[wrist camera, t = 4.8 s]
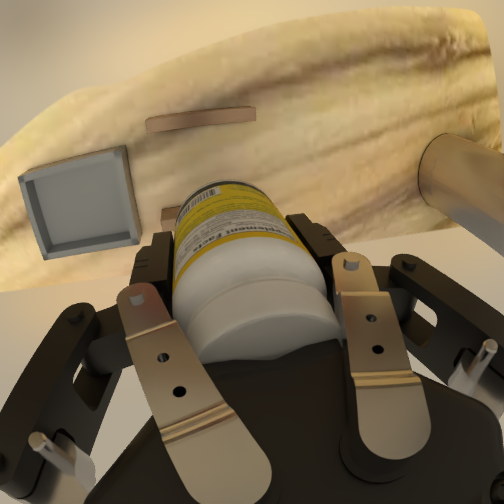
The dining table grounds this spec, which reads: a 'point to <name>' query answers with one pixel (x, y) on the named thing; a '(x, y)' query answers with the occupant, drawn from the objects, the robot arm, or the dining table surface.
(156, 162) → the dining table surface
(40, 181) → the tray
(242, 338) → the supplement bottle
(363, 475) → the robot arm
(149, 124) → the slot rails
